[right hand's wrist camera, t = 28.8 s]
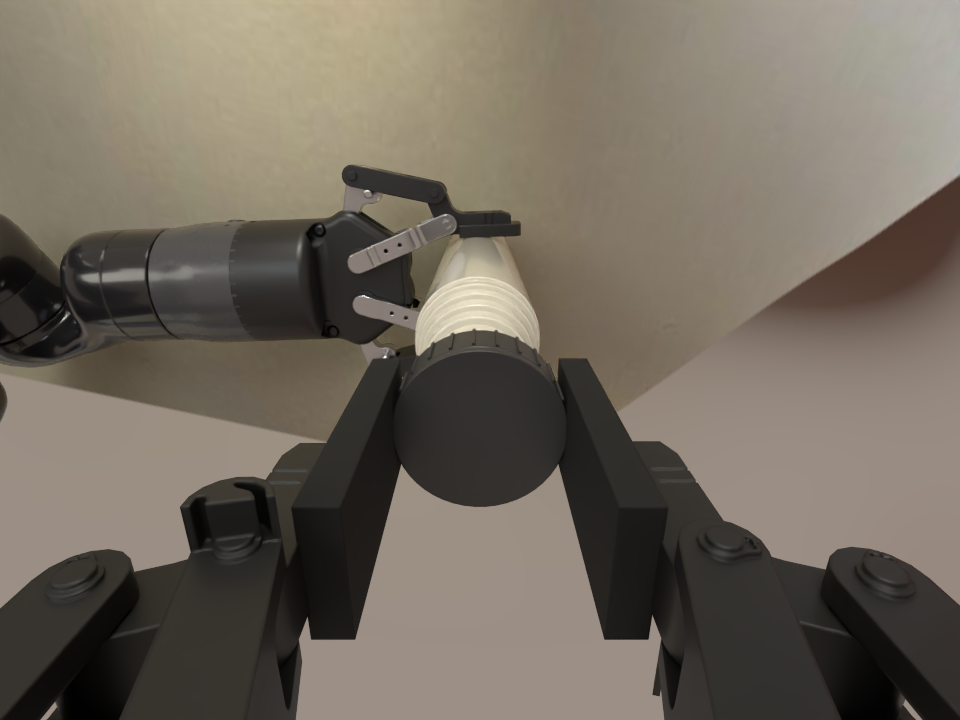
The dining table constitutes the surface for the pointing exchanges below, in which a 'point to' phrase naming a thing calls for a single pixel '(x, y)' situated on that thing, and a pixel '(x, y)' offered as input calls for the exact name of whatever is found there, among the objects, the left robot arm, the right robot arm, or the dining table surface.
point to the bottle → (476, 294)
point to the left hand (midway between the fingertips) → (518, 272)
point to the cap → (479, 419)
